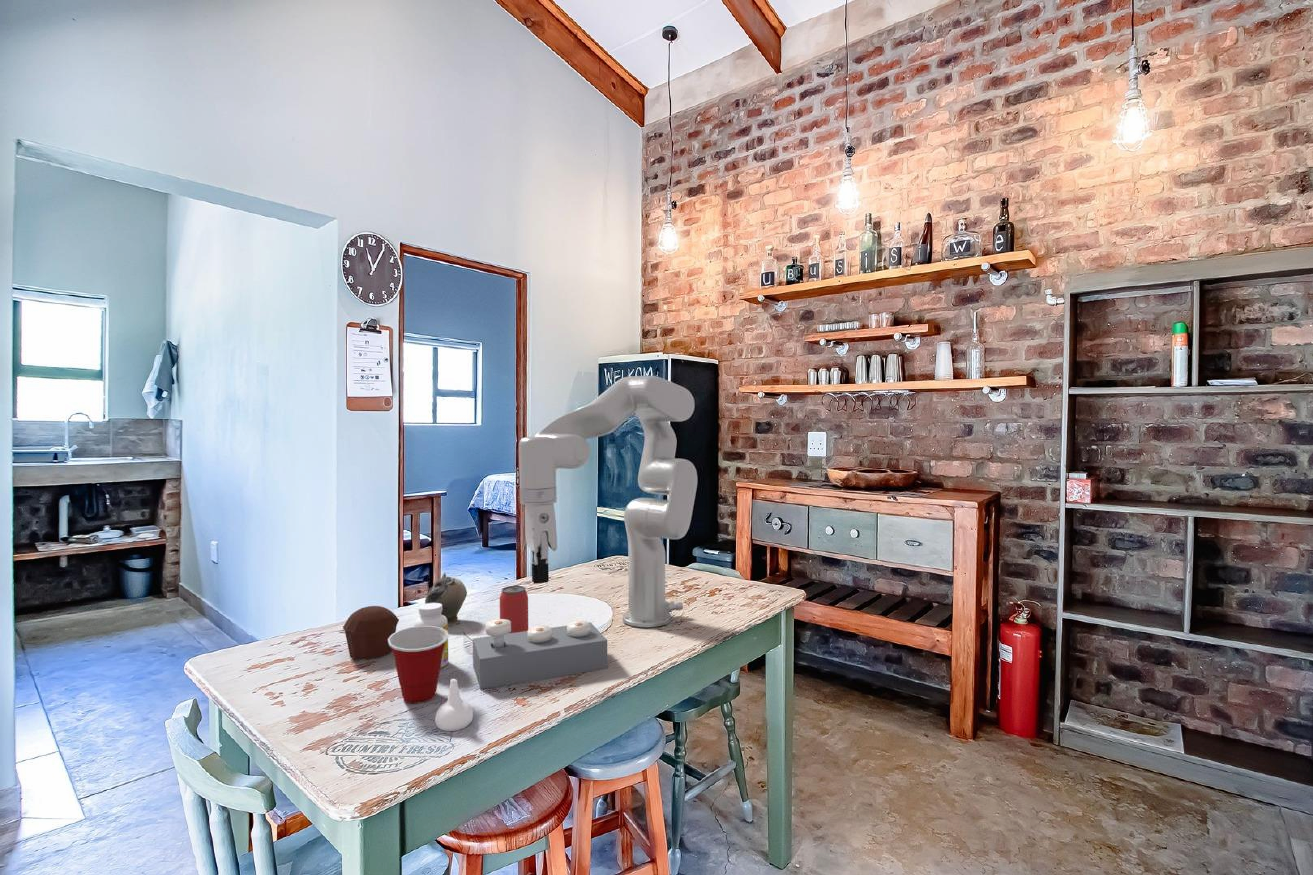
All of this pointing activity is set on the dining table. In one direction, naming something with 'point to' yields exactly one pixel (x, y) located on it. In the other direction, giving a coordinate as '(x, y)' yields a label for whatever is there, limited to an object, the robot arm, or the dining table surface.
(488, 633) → the knob
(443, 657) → the supplement bottle
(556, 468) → the robot arm
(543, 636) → the knob middle
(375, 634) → the muffin
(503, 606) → the beer can
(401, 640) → the plastic cup
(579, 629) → the knob
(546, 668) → the console
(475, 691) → the dining table surface
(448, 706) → the garlic bulb
